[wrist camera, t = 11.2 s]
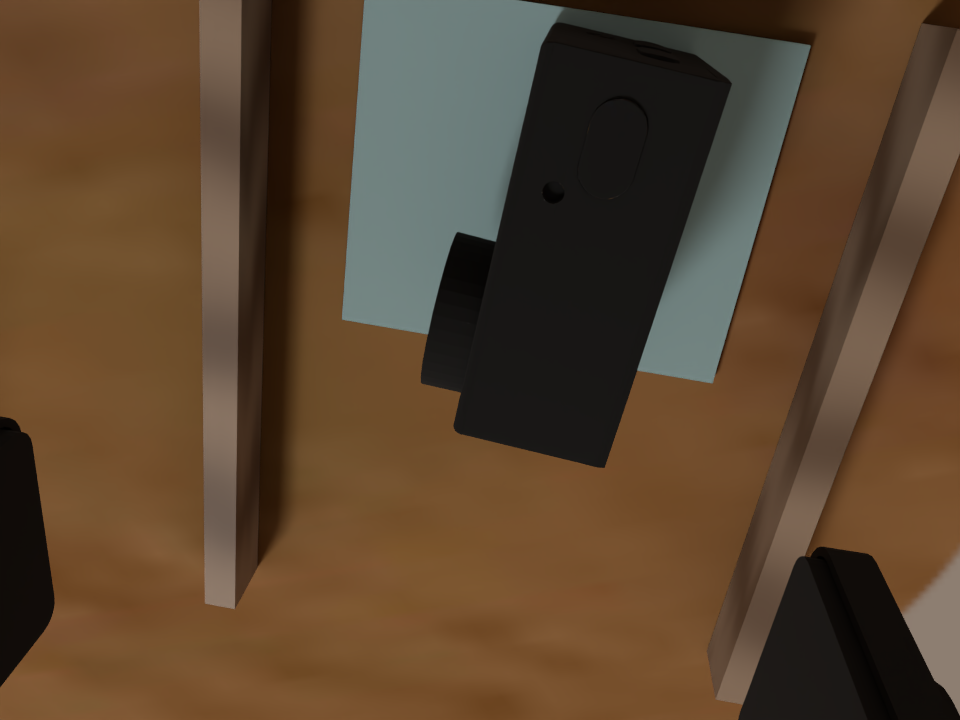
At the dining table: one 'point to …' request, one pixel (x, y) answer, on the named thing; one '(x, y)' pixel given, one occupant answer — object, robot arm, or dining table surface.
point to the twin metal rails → (816, 404)
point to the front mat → (493, 145)
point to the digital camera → (576, 245)
